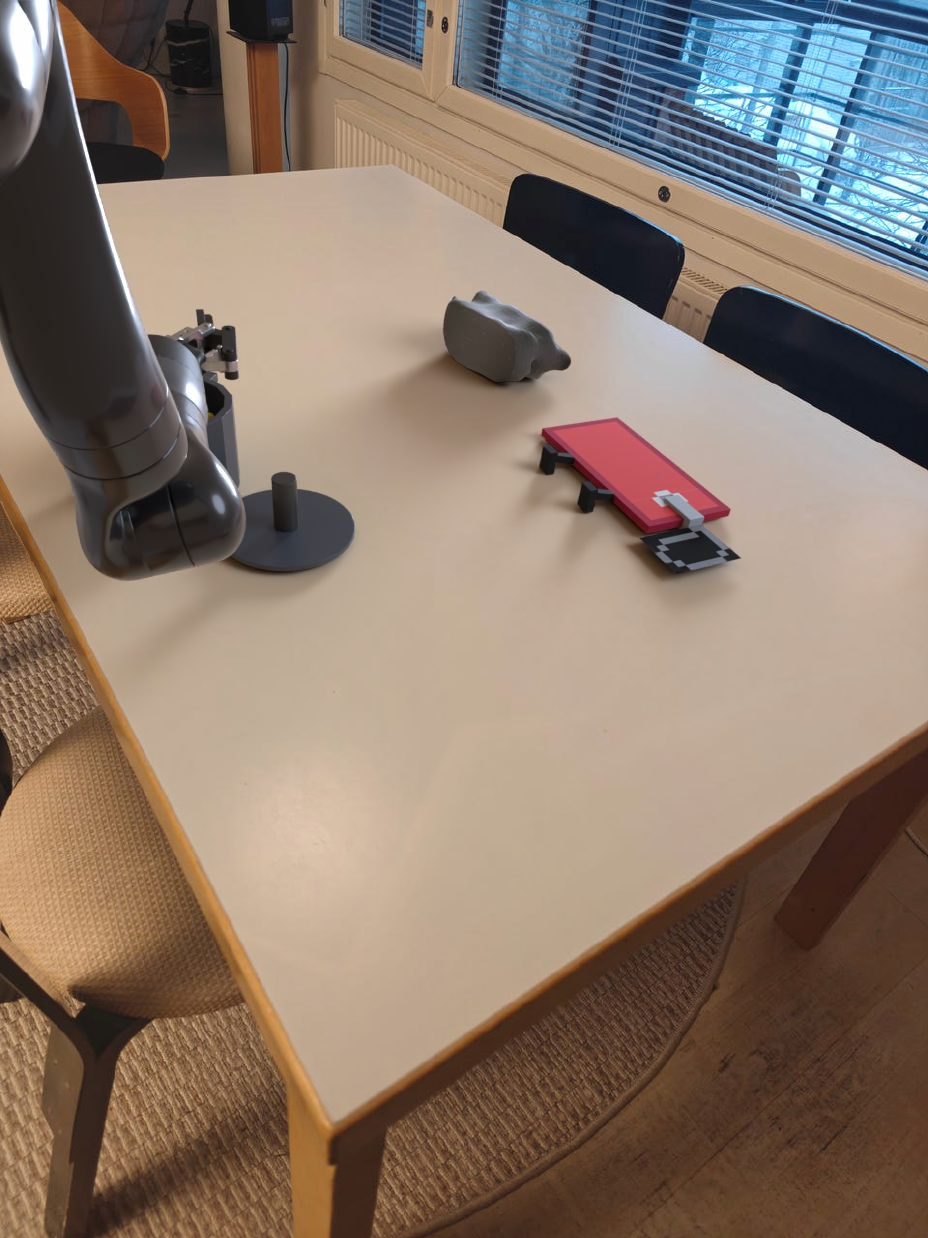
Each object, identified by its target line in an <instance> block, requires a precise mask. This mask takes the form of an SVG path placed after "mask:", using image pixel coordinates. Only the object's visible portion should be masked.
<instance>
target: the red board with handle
mask: <svg viewBox="0 0 928 1238" xmlns="http://www.w3.org/2000/svg"><path fill="white" fill-rule="evenodd" d="M540 436H541V437H542V438H544V439H545V440H546V442H548V443H549V444H544V445H542V449H541V455H540V460H539V466H538V467H539V469H540V470H541V471H543V472H544V473H545V474H546V475H547V476H550V475H554V474H555V472H556V471H555V470H556V465H557V464H562V465H571V466H574V468H576V469H577V470H578V471H579V472H580V473H581V474H582V475H583V476H584V477H585V478H587V481H582V482H581V484H580V489H579V492H578V497H577V503H576V504H577V506H578V507H579V508H580V509H581V510H582V511H583V512H584V513H585V514H589V513H593V512H594V510H595V506H596V501H597V502H607V503H613V504H614V505H615V506H616V507H618V508H619V509H620V511H622V513H624V514H625V515H626V516H627V517H628V518H629V519H630V520H632V522H634V523H635V525H637V526H638V527H639V528H640V529H641V530H642V531H644V533H646V535H647V534H648V535H647V536H642V537H638V538H639V540H640V541H641V542H642V543H643V544H644V545H645V546H646V547H647V548H649V549H650V550H651V551H652V552H653V553H654V554H655V555H656V556H657V557H658V558H659V559H660V560H661V561H662V562H663V563H664V564H666V565H667V567H669V568H670V569H671V570H672V571H673V572H674V573H675V574H676V575H678V574H682V573H687V572H691V571H695V570H699V569H704V568H707V567H711V566H715V565H720V564H724V563H729V562H732V561H736V560H740V559H742V557H741V556H740V555H739V554H737V552H735V550H733V549H732V548H731V547H729V546H728V545H727V544H726V543H724V542H723V541H722V540H721V539H720V538H718V536H716V535H715V534H714V533H712V532H711V530H709V529H708V528H707V527H706V526H704V525H703V522H707V521H712V520H717V519H721V518H726V517H729V515H730V513H731V509H732V508H730V507H729V506H728V505H726V504H725V503H724V502H723V501H722V500H720V499H719V498H718V497H716V496H715V495H714V494H713V493H712V492H710V491H709V490H708V489H706V487H704V486H703V485H702V484H701V483H699V482H698V481H697V480H696V479H695V478H693V477H692V476H691V475H689V473H687V472H686V471H684V470H683V469H682V468H681V467H679V466H678V465H677V464H676V463H675V462H673V461H672V460H671V459H670V458H668V457H667V456H666V455H664V453H662V452H661V451H660V450H658V449H657V448H656V447H655V446H653V445H652V444H651V443H650V442H649V441H647V439H645V438H644V437H642V436H641V435H640V434H639V433H637V431H635V430H634V429H633V428H631V427H630V426H629V425H627V424H626V423H625V422H624V421H623V420H621V419H620V418H619V417H616V416H615V417H611V418H603V419H597V420H590V421H582V422H576V423H569V424H562V425H556V426H549V427H542V429H541V434H540ZM677 528H678V529H677ZM671 529H674V530H671ZM666 530H668V531H666ZM669 530H670V531H669ZM662 531H663V532H662ZM664 531H665V532H664ZM657 532H660V533H657ZM652 533H654V534H652ZM655 533H656V534H655ZM649 534H650V535H649Z"/></svg>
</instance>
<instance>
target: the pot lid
mask: <svg viewBox="0 0 928 1238" xmlns="http://www.w3.org/2000/svg"><path fill="white" fill-rule="evenodd" d="M270 482H271V483H270V484H271V489H266V490H261V491H257V492H253V493H250V494H247V495H245V496H243V497H241V498H242V501H243V504H244V507H245V512H246V521H247V524H246V532H245V535H244V538H243V541H242V542H241V544H240V546H239V547H238V548H237V550H236V551H235V552H234V553H233V554H232V555H231V556H230V557H231V558H233V559H234V560H236V561H237V562H240V563H241V564H243V565H246V566H249V567H252V568H255V569H259V570H266V571H275V572H293V571H295V572H296V571H301V570H308V569H312V568H316V567H320V566H322V565H325V564H327V563H330V562H332V561H334V560H335V559H337V558H338V557H340V556H341V555H342V554H344V553H345V552H346V551H347V550H348V548H349V547H350V546H351V545H352V543H353V540H354V539H355V533H356V524H355V523H356V522H355V520H354V517H353V515H352V513H351V512H350V510H349V509H348V508H347V507H346V506H345V505H343V504H342V503H341V502H340V501H339V500H337V499H335V498H332V497H331V496H329V495H326V494H324V493H321V492H318V491H313V490H310V489H309V490H308V489H302V488H298V478H297V476H296V474H294V473H292V472H289V471H279V472H276V473H273V475H271V478H270Z"/></svg>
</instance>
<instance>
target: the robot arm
mask: <svg viewBox="0 0 928 1238" xmlns="http://www.w3.org/2000/svg"><path fill="white" fill-rule="evenodd" d="M58 8H59V7H58V3H57V0H0V345H1V348H2V351H3V354H4V358H5V360H6V363H7V366H8V369H9V373H10V374H11V377H12V379H13V382H14V384H15V386H16V389H17V391H18V394H19V395H20V397H21V399H22V401H23V403H24V405H25V406H26V408H27V410H28V412H29V414H30V415H31V417H32V418H33V421H34V422H35V424H36V425H37V427H38V429H39V430H40V432H41V433H42V435H43V436H44V438H45V440H46V442H47V444H49V446H50V448H51V449H52V451H53V452H54V454H55V456H56V457H57V459H58V461H59V462H60V463H61V465H62V467H63V469H64V471H65V473H66V476H67V479H68V481H69V484H70V487H71V491H72V496H73V501H74V513H75V523H76V530H77V535H78V539H79V544H80V547H81V550H82V553H83V555H84V557H85V558H86V560H87V561H88V563H89V564H90V565H91V566H92V567H93V568H94V569H95V571H97V572H98V573H100V574H101V575H103V576H105V577H108V578H110V579H112V580H115V581H122V582H133V581H140V580H144V579H148V578H149V579H150V578H154V577H157V576H161V575H166V574H170V573H175V572H180V571H183V570H189V569H193V568H196V567H202V566H206V565H210V564H215V563H218V562H221V561H223V560H226V559H227V558H229V557H231V555H232V554H233V553H234V552H235V551H236V550H237V548H238V547H239V546H240V544H241V542H242V541H243V538H244V535H245V532H246V524H247V521H246V512H245V507H244V504H243V501H242V498H243V497H242V496H241V493H240V491H239V487H238V488H237V486H236V485H235V483H234V481H233V480H232V478H231V477H230V475H229V473H228V472H227V470H226V469H225V467H224V466H223V465H222V464H221V462H220V461H219V460H218V459H217V458H216V456H215V455H214V454H213V453H212V452H211V451H210V450H209V445H208V438H207V431H206V429H207V422H208V408H207V405H206V398H205V390H204V383H203V377H204V376H205V375H206V374H207V372H219V373H220V374H224V378H225V380H228V381H237V380H238V379H239V378H240V373H239V371H240V370H239V356H238V344H237V333H236V332H237V330H236V327H235V326H234V325H230V324H229V325H228V324H227V325H223V326H222V327H221V329H218V328H216V327H215V324H214V318H213V316H212V314H210V313H205V310H204V308H196V309H195V315H196V323H197V326H196V327H191V326H185V327H184V328H182V329H180V330H178V331H176V332H175V333H173V334H172V335H170V334H166V335H160V334H149V333H147V330H146V328H145V325H144V322H143V320H142V317H141V315H140V313H139V310H138V307H137V303H136V301H135V298H134V295H133V293H132V289H131V287H130V285H129V281H128V278H127V276H126V273H125V270H124V267H123V264H122V261H121V258H120V255H119V252H118V249H117V246H116V243H115V239H114V236H113V233H112V230H111V227H110V224H109V221H108V218H107V214H106V212H105V207H104V205H103V201H102V197H101V194H100V190H99V188H98V184H97V181H96V176H95V172H94V169H93V168H94V167H93V166H92V161H91V158H90V153H89V149H88V146H87V143H86V138H85V134H84V131H83V126H82V122H81V118H80V114H79V109H78V104H77V99H76V96H75V95H76V94H75V91H74V85H73V81H72V75H71V70H70V65H69V60H68V54H67V49H66V45H65V39H64V34H63V30H62V23H61V17H60V14H59V9H58Z"/></svg>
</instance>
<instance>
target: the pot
mask: <svg viewBox="0 0 928 1238" xmlns="http://www.w3.org/2000/svg"><path fill="white" fill-rule="evenodd" d="M218 376H219V375H218V372H216V371H211V372H207V374H206V375H205V376H204V377H203V383H204V390H205V398H206V405H207V408H208V413H212V414H213V415H214V417H212V418H210V419H208V422H207V429H206V431H207V438H208V445H209V450H210V451H211V452H212V453H213V454H214V455H215V456H216V458H217V459H218V460H219V461H220V462H221V464H222V465H223V466H224V467H225V469H226V470H227V472H228V473H229V475H230V477H231V478H232V480H233V481H234V483H235V485H236V486H237V488H238V489H239V487H240V484H241V483H240V482H241V481H240V474H241V473H240V461H239V451H238V439H237V429H236V427H237V426H236V418H235V417H236V416H235V406H234V396H233V394H232V393H231V392H230V391H229V390H228V389H227V387H225V385H223V384H222V383H220V382H219V377H218Z"/></svg>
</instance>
